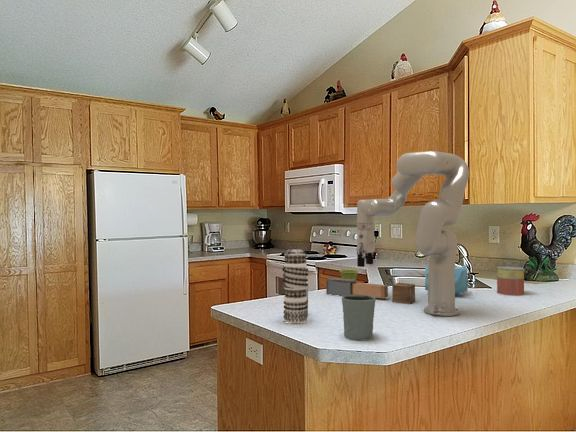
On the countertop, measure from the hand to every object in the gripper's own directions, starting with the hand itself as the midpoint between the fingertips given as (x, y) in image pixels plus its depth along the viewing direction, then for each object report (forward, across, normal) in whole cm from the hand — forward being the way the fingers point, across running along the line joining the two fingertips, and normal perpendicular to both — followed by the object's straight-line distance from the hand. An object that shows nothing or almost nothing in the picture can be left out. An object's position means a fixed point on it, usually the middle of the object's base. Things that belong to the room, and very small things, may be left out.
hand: (365, 265), depth 188 cm
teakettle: (+14, +26, -30) cm, 42 cm away
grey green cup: (+14, -57, -22) cm, 63 cm away
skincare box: (+14, -43, +8) cm, 46 cm away
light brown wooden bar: (+14, 0, +3) cm, 15 cm away
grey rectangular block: (+14, 0, +12) cm, 19 cm away
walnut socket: (+14, 0, -17) cm, 22 cm away
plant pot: (+15, +18, +16) cm, 28 cm away
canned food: (+14, +44, -54) cm, 71 cm away
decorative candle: (+14, -52, +4) cm, 54 cm away
